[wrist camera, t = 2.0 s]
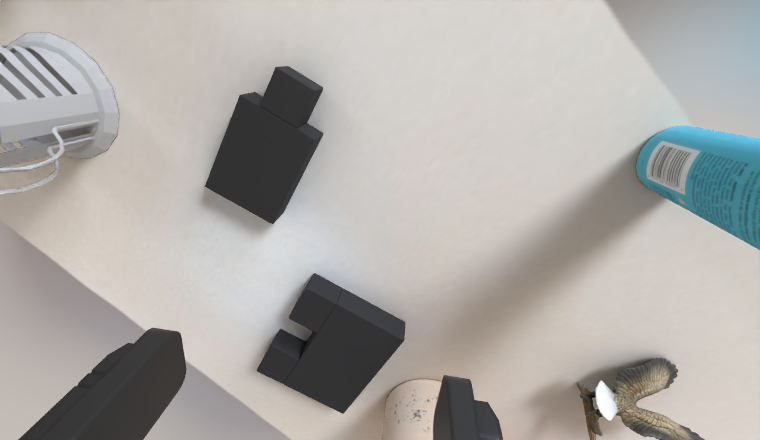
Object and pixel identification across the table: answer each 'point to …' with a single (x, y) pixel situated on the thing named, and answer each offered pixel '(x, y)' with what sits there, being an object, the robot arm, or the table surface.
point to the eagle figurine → (625, 396)
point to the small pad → (268, 145)
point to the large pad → (333, 345)
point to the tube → (707, 176)
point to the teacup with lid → (411, 410)
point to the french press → (52, 104)
